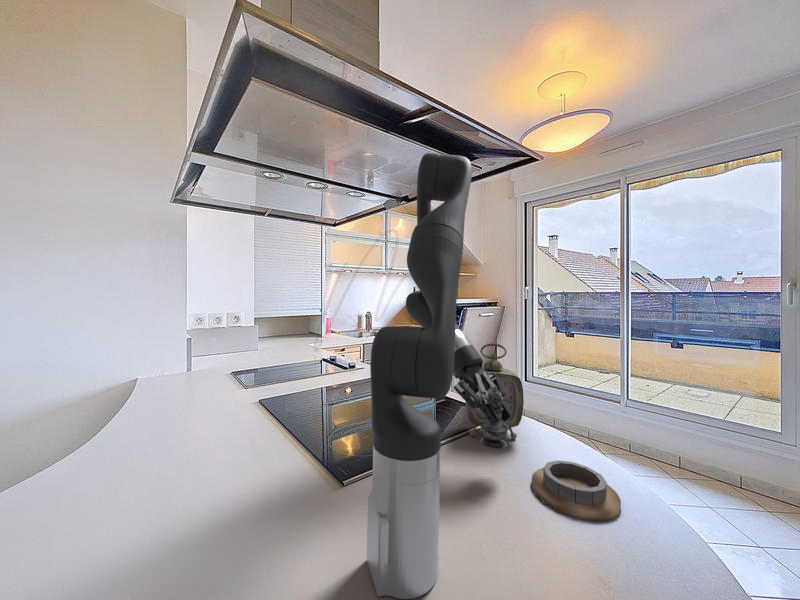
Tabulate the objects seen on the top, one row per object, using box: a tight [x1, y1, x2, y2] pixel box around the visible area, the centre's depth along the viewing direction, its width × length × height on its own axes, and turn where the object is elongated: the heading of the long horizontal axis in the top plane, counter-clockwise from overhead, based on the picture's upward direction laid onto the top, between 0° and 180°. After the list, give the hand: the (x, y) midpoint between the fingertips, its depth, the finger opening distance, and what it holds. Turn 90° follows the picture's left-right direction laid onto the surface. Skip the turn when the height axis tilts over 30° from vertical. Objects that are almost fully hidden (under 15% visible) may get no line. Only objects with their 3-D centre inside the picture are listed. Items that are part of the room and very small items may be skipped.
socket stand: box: [531, 460, 622, 522], centre depth 62 cm, size 15×15×4 cm
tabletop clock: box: [464, 343, 525, 440], centre depth 88 cm, size 14×9×25 cm, turn 83°
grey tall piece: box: [479, 386, 510, 450], centre depth 67 cm, size 6×6×12 cm
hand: (502, 420), depth 66 cm, fingers closed on grey tall piece, 3 cm apart
